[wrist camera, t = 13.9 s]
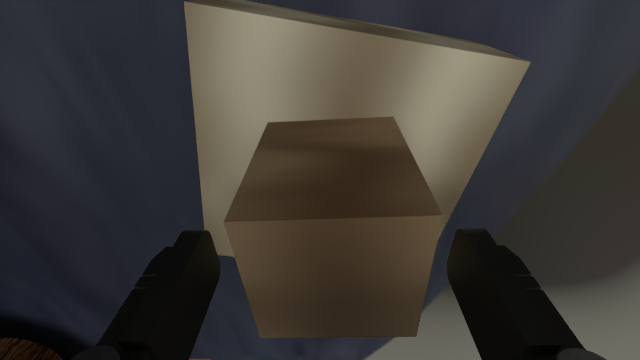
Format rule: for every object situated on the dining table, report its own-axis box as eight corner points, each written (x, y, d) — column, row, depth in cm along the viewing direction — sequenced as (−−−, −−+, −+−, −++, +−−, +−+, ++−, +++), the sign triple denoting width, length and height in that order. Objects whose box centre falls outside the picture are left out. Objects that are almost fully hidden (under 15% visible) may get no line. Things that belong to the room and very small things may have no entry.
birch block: (231, 198, 20) (206, 253, 16) (228, -4, 14) (183, 1, 10) (399, 221, 21) (417, 278, 17) (472, 40, 14) (530, 62, 10)
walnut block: (283, 217, 15) (260, 338, 10) (267, 122, 12) (223, 222, 7) (385, 214, 14) (416, 336, 9) (393, 116, 12) (442, 215, 7)
